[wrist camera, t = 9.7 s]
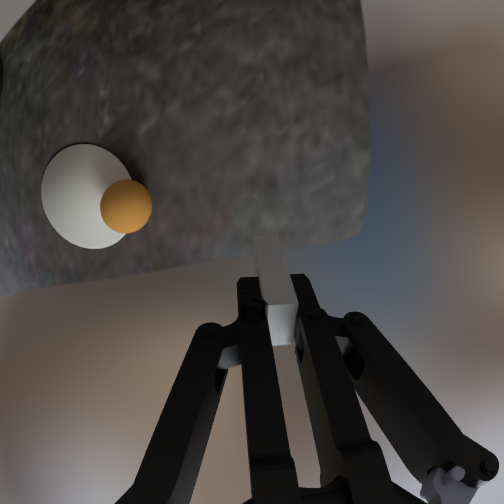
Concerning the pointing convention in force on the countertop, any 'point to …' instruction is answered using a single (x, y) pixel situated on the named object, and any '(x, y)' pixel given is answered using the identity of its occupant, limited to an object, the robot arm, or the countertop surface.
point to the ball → (125, 206)
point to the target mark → (81, 194)
